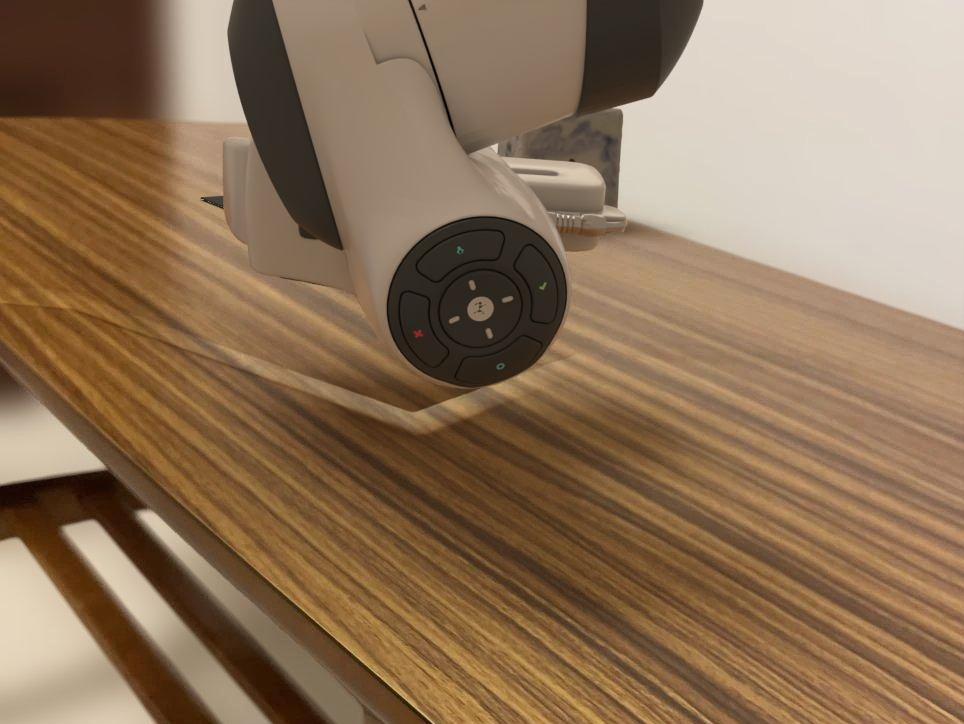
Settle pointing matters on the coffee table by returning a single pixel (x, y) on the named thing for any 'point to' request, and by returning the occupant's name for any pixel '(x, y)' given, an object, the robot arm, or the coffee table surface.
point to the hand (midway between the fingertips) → (403, 167)
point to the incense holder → (576, 145)
